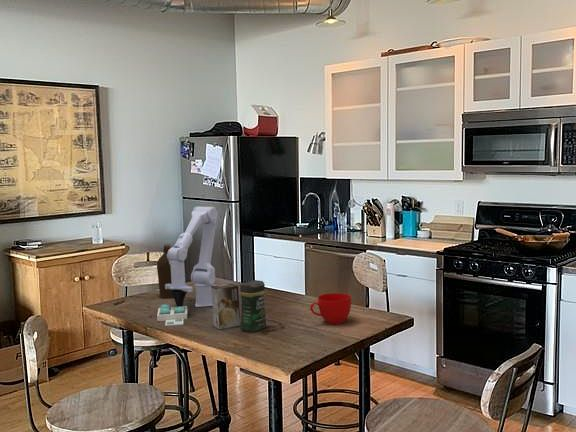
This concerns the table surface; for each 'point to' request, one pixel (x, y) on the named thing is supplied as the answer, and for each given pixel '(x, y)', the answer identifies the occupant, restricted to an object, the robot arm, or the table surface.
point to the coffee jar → (253, 306)
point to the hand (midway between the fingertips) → (179, 307)
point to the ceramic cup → (333, 307)
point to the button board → (172, 315)
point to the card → (174, 322)
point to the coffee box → (225, 306)
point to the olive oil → (164, 274)
